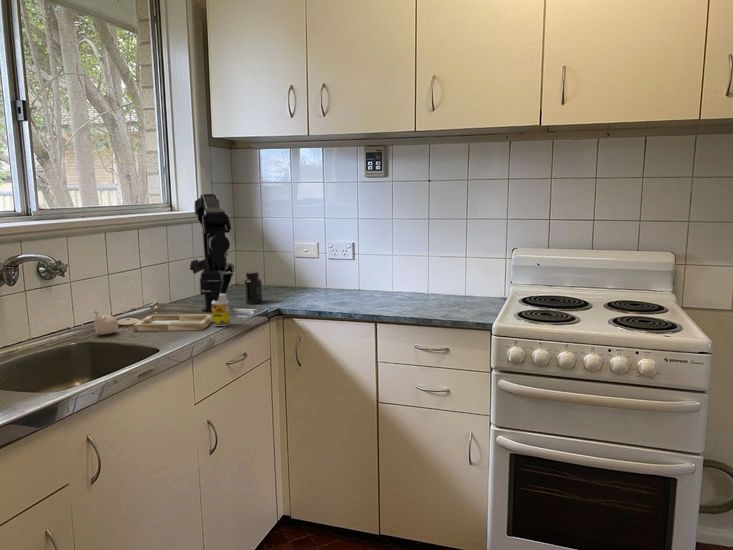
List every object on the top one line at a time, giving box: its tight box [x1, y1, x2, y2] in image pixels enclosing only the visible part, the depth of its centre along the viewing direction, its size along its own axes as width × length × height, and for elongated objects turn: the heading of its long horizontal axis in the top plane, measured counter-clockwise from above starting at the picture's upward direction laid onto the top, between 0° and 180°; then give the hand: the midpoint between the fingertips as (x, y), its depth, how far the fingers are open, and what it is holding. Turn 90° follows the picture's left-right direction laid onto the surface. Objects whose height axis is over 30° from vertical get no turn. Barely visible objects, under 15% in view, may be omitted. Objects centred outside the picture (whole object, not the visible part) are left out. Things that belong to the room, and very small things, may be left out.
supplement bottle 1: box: [211, 293, 231, 327], centre depth 180 cm, size 6×6×10 cm
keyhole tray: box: [132, 313, 213, 332], centre depth 182 cm, size 14×22×2 cm, turn 90°
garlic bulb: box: [93, 310, 119, 336], centre depth 172 cm, size 7×6×8 cm
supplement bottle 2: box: [243, 271, 264, 305], centre depth 215 cm, size 7×7×12 cm
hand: (219, 297), depth 180 cm, fingers open, 9 cm apart
